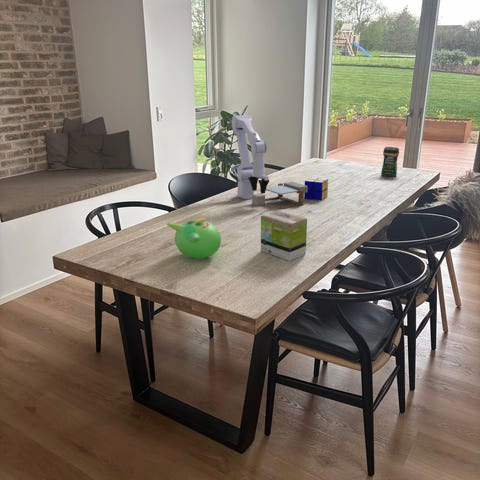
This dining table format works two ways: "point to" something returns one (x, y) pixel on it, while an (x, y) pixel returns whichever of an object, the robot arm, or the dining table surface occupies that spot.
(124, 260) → the dining table surface
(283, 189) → the trapdoor
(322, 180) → the puzzle cube
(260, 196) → the grey cube
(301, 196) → the frame
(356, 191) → the dining table surface
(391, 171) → the coffee jar
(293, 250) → the tea box
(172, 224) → the toy bird
